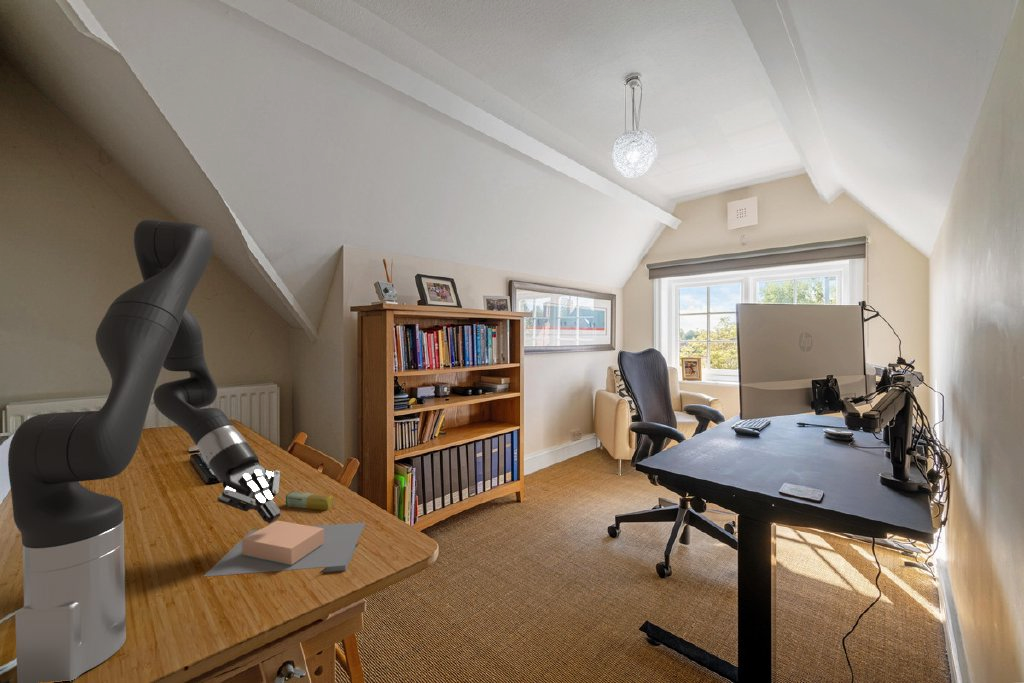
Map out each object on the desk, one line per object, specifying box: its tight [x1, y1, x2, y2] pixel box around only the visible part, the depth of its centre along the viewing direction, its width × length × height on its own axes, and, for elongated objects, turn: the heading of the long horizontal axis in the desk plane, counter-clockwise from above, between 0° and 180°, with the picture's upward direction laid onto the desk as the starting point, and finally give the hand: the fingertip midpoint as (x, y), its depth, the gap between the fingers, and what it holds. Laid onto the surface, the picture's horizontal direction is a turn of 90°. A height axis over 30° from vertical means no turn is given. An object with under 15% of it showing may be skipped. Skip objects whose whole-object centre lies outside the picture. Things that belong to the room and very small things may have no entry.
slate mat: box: [202, 522, 367, 578], centre depth 81 cm, size 17×24×1 cm
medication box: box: [285, 491, 335, 511], centre depth 100 cm, size 12×3×4 cm, turn 78°
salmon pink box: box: [241, 520, 324, 566], centre depth 79 cm, size 3×8×12 cm
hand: (275, 519), depth 80 cm, fingers closed
